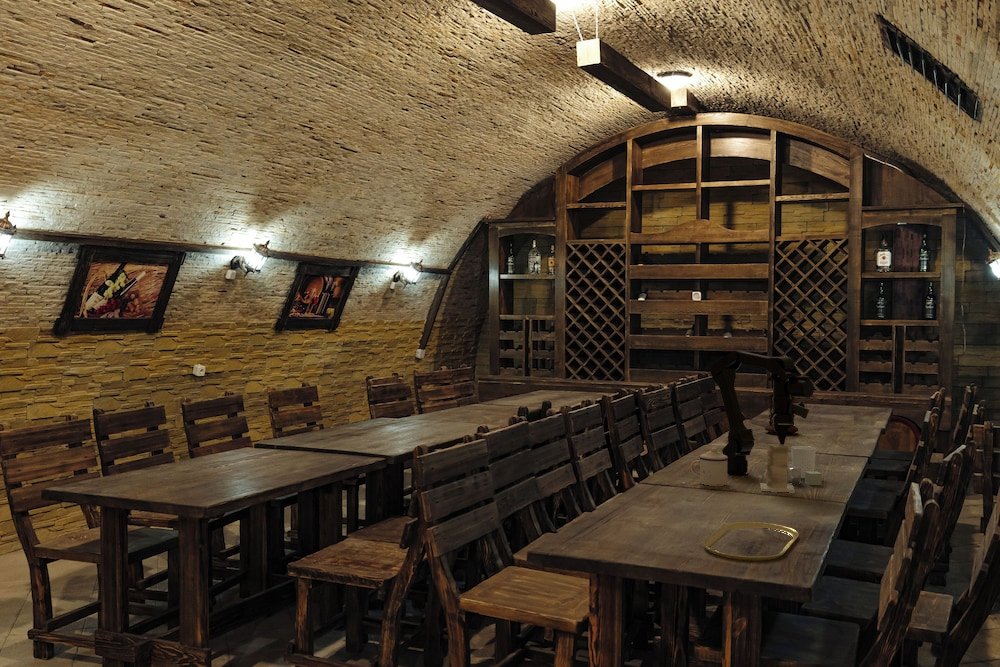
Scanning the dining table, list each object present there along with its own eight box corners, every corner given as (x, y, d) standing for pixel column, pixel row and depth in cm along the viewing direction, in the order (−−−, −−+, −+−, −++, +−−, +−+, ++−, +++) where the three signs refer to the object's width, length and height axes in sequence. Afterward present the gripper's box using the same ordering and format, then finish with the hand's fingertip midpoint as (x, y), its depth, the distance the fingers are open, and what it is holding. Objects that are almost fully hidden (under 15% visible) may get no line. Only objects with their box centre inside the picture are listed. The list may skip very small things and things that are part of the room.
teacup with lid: (729, 482, 300) (729, 447, 299) (726, 487, 291) (726, 451, 291) (692, 479, 304) (692, 444, 303) (688, 484, 295) (688, 448, 295)
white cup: (816, 479, 306) (817, 449, 306) (792, 478, 308) (792, 448, 307) (813, 475, 314) (814, 446, 313) (789, 474, 315) (790, 445, 315)
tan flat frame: (804, 533, 234) (804, 527, 234) (776, 567, 204) (776, 560, 203) (731, 524, 243) (731, 518, 243) (693, 556, 212) (694, 549, 212)
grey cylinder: (787, 484, 297) (787, 469, 297) (786, 481, 302) (786, 466, 301) (801, 485, 296) (801, 469, 296) (800, 482, 301) (800, 467, 300)
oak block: (766, 485, 290) (767, 444, 289) (779, 484, 291) (780, 444, 290) (773, 488, 285) (774, 446, 285) (787, 487, 286) (787, 446, 286)
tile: (761, 491, 285) (761, 488, 285) (759, 486, 294) (759, 483, 294) (794, 493, 283) (794, 490, 283) (792, 487, 291) (792, 484, 291)
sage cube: (809, 485, 295) (809, 473, 295) (804, 483, 299) (804, 471, 299) (821, 485, 296) (821, 473, 295) (816, 483, 300) (816, 471, 299)
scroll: (766, 435, 411) (767, 390, 410) (762, 430, 425) (763, 387, 424) (800, 436, 408) (801, 391, 408) (795, 431, 423) (796, 388, 422)
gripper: (810, 398, 289) (809, 447, 289) (805, 393, 307) (804, 439, 308) (773, 397, 292) (773, 446, 292) (770, 392, 310) (770, 438, 310)
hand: (781, 442), depth 300 cm, fingers open, 9 cm apart
